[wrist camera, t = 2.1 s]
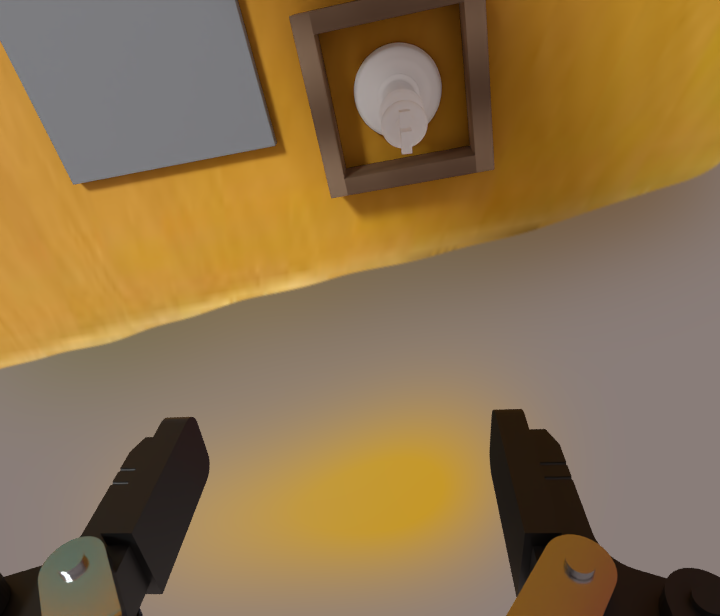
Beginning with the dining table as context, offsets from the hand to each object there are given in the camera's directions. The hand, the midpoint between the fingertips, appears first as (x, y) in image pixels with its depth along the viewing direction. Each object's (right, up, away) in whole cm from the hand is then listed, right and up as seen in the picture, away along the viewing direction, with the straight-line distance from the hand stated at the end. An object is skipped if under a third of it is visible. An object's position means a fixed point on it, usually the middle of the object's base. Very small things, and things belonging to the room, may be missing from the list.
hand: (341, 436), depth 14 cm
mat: (-12, +18, +14) cm, 26 cm away
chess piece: (+3, +16, +15) cm, 22 cm away
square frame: (+3, +16, +15) cm, 22 cm away
